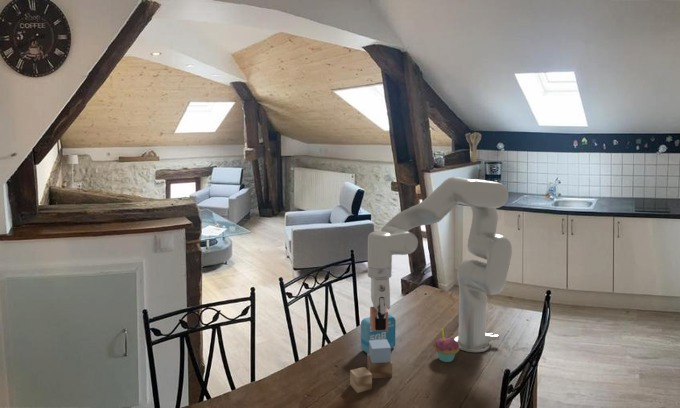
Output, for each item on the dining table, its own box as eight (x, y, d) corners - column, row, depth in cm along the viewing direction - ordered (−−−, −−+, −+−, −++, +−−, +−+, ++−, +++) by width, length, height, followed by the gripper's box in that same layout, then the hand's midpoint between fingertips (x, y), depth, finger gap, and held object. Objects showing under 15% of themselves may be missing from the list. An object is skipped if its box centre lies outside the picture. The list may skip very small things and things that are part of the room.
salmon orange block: (385, 323, 161) (385, 306, 160) (388, 330, 156) (388, 312, 155) (370, 324, 161) (370, 306, 160) (372, 331, 156) (372, 312, 155)
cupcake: (444, 367, 164) (445, 333, 162) (428, 356, 172) (428, 323, 170) (464, 360, 168) (465, 327, 166) (447, 350, 176) (448, 318, 174)
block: (364, 381, 156) (364, 366, 155) (372, 389, 152) (371, 374, 151) (350, 385, 154) (350, 370, 153) (357, 393, 150) (357, 377, 149)
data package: (367, 356, 172) (367, 323, 170) (360, 351, 176) (360, 319, 174) (395, 347, 178) (395, 316, 176) (388, 342, 182) (388, 312, 180)
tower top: (386, 353, 164) (386, 339, 163) (390, 362, 158) (390, 347, 157) (368, 354, 163) (368, 340, 162) (372, 363, 158) (372, 348, 157)
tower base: (388, 366, 165) (388, 352, 164) (392, 377, 158) (392, 363, 158) (367, 367, 165) (367, 353, 164) (370, 378, 158) (370, 364, 157)
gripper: (396, 279, 147) (395, 337, 150) (386, 262, 164) (386, 315, 167) (371, 280, 147) (371, 338, 150) (364, 263, 163) (364, 315, 167)
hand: (379, 325), depth 158 cm, fingers closed on salmon orange block, 5 cm apart
